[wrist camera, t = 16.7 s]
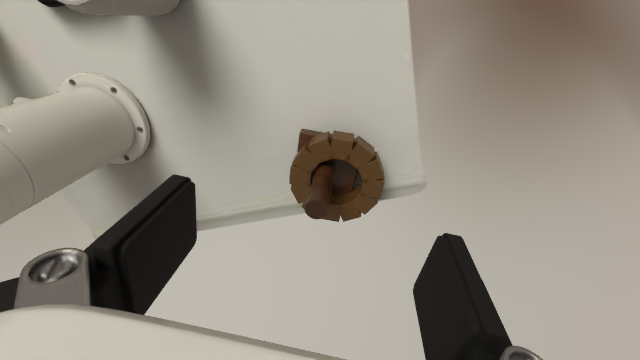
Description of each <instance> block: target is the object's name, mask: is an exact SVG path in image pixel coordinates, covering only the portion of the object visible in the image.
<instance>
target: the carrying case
mask: <svg viewBox="0 0 640 360" xmlns="http://www.w3.org/2000/svg"><path fill="white" fill-rule="evenodd" d="M38 1H39V2H41V3H42V4H44V5H46V6H49V7H61V6H66V5H65V4H63V3H61V2H59V1H57V0H38Z"/></svg>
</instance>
